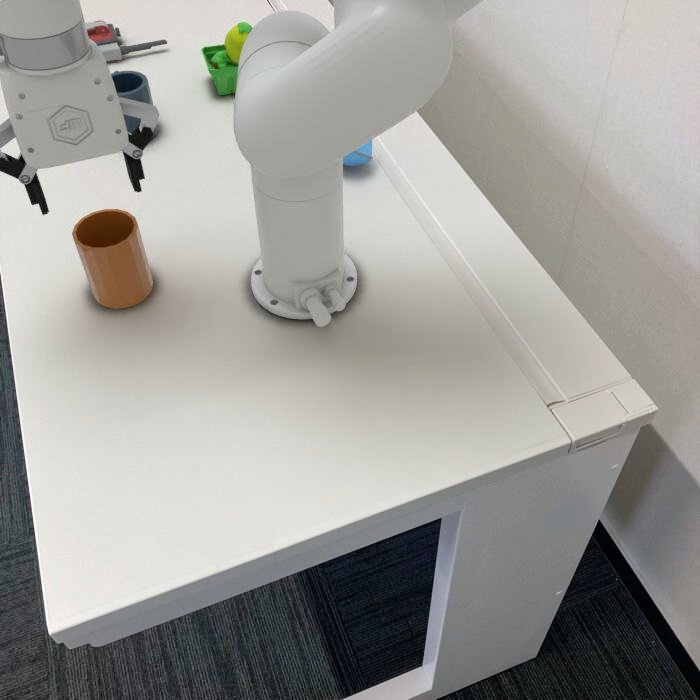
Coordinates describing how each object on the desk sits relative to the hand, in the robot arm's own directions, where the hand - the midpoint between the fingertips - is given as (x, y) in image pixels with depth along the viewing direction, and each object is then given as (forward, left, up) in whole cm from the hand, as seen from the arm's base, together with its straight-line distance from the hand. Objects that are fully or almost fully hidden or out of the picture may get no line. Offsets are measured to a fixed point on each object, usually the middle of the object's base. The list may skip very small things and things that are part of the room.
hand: (90, 195), depth 82 cm
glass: (0, 0, -14) cm, 14 cm away
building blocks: (+15, -32, -14) cm, 38 cm away
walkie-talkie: (+58, -10, -14) cm, 60 cm away
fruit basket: (+38, -28, -14) cm, 49 cm away
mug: (+33, -9, -14) cm, 37 cm away
